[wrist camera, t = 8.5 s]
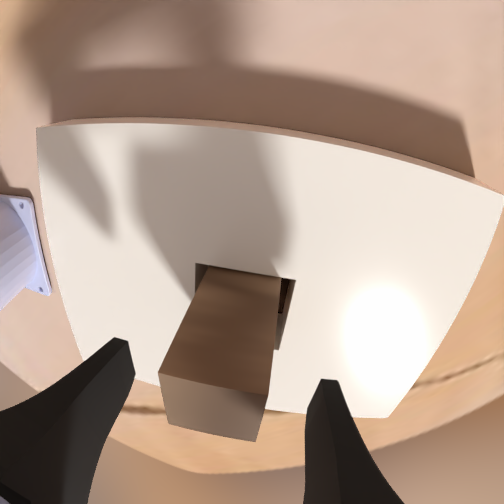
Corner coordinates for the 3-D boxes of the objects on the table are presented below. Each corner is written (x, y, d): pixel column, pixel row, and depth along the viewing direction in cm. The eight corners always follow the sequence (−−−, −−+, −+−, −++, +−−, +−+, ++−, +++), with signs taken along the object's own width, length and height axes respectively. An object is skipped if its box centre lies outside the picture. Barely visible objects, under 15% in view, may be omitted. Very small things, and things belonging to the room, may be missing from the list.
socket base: (100, 334, 21) (83, 360, 19) (72, 119, 14) (36, 127, 11) (381, 386, 20) (387, 417, 17) (475, 178, 12) (506, 196, 10)
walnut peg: (219, 288, 17) (168, 423, 9) (222, 238, 16) (157, 372, 8) (275, 297, 17) (255, 441, 9) (284, 247, 16) (268, 395, 8)
